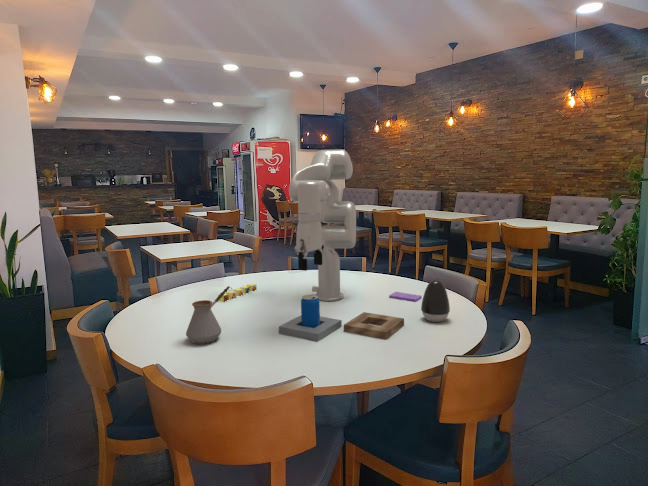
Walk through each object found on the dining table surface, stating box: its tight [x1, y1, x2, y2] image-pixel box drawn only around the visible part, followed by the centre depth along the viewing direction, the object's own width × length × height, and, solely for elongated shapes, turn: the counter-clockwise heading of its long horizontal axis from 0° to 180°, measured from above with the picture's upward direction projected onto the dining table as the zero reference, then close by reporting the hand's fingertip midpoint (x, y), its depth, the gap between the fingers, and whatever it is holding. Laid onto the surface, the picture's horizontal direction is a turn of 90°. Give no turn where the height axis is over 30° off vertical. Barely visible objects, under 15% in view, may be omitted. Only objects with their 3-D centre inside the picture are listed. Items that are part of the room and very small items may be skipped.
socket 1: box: [278, 315, 343, 342], centre depth 159 cm, size 16×16×2 cm
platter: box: [217, 283, 258, 303], centre depth 206 cm, size 32×32×3 cm
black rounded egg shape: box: [420, 278, 451, 323], centre depth 167 cm, size 10×10×15 cm
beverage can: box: [300, 294, 321, 328], centre depth 159 cm, size 6×6×12 cm
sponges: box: [388, 291, 423, 303], centre depth 197 cm, size 7×13×2 cm, turn 56°
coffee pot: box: [185, 285, 233, 345], centre depth 155 cm, size 21×12×15 cm, turn 155°
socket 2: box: [343, 311, 405, 340], centre depth 160 cm, size 16×16×2 cm
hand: (310, 267), depth 156 cm, fingers open, 9 cm apart
